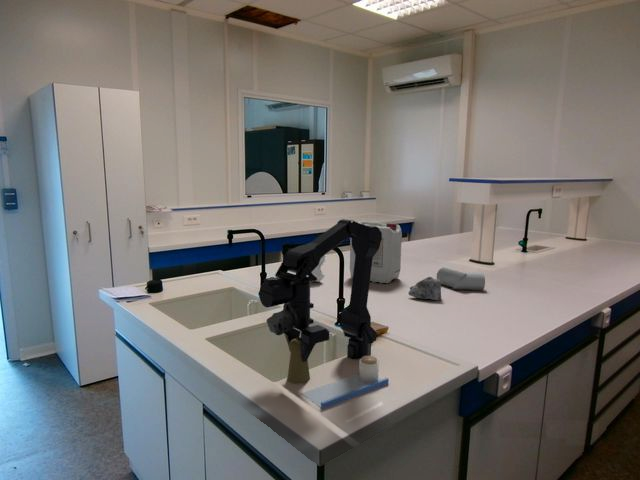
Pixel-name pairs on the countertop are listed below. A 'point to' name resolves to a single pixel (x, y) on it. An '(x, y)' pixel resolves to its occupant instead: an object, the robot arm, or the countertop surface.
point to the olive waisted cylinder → (297, 364)
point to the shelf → (341, 390)
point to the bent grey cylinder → (461, 279)
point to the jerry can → (383, 253)
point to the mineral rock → (427, 289)
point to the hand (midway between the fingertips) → (298, 358)
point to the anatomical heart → (319, 270)
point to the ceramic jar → (368, 369)
